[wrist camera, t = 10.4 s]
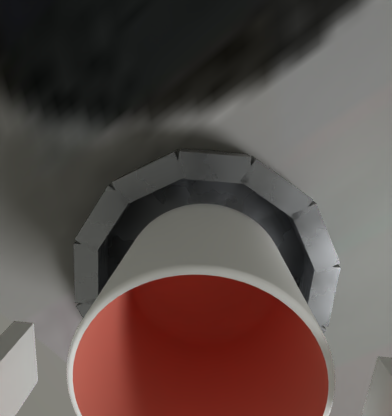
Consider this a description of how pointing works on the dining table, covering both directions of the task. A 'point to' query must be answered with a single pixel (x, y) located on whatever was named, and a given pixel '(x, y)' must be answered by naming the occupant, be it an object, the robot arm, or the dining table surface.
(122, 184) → the ring coaster
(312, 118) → the dining table surface
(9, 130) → the dining table surface
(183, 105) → the dining table surface
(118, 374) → the cup
